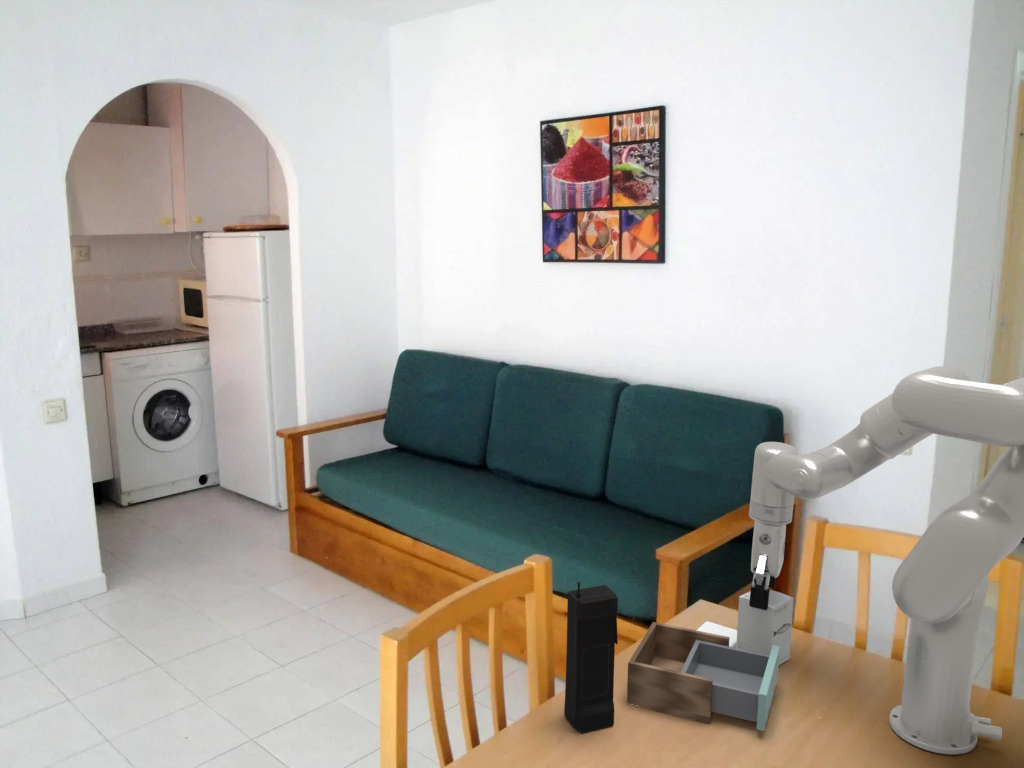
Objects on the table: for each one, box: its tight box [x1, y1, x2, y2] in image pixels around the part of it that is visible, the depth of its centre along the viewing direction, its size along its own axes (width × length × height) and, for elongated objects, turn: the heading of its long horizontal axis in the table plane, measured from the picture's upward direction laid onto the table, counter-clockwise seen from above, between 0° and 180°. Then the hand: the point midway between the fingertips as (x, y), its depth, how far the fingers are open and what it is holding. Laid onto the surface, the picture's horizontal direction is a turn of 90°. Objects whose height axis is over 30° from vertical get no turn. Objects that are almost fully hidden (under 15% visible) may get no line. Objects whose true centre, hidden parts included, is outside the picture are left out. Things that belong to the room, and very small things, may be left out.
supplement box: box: [735, 588, 795, 666], centre depth 153 cm, size 7×7×13 cm
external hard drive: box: [695, 620, 737, 648], centre depth 160 cm, size 2×8×12 cm
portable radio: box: [563, 581, 619, 734], centre depth 132 cm, size 8×6×25 cm
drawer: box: [681, 640, 780, 732], centre depth 139 cm, size 14×17×6 cm
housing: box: [626, 621, 730, 725], centre depth 143 cm, size 14×16×8 cm
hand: (762, 596), depth 152 cm, fingers open, 9 cm apart
